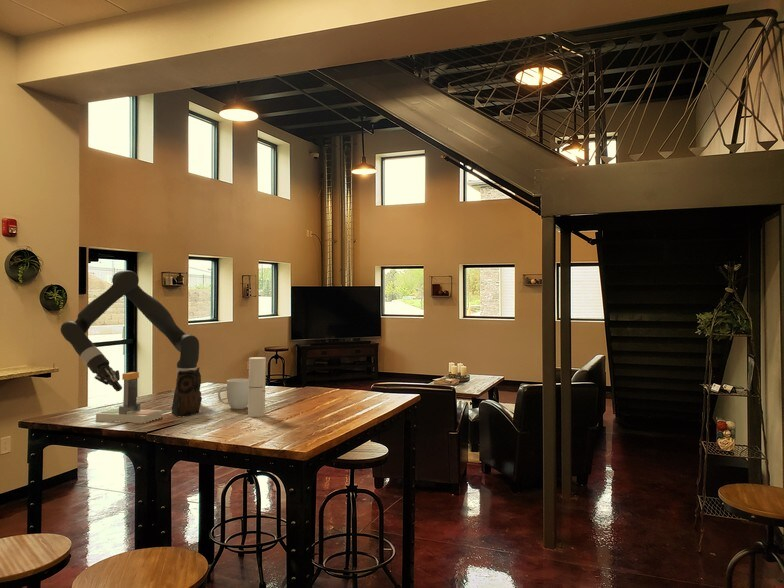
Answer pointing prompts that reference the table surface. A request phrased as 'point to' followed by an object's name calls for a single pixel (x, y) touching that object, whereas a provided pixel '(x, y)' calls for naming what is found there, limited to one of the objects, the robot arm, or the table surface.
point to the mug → (236, 393)
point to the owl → (187, 393)
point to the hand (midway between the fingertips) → (119, 389)
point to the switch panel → (129, 415)
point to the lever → (130, 390)
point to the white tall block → (256, 386)
